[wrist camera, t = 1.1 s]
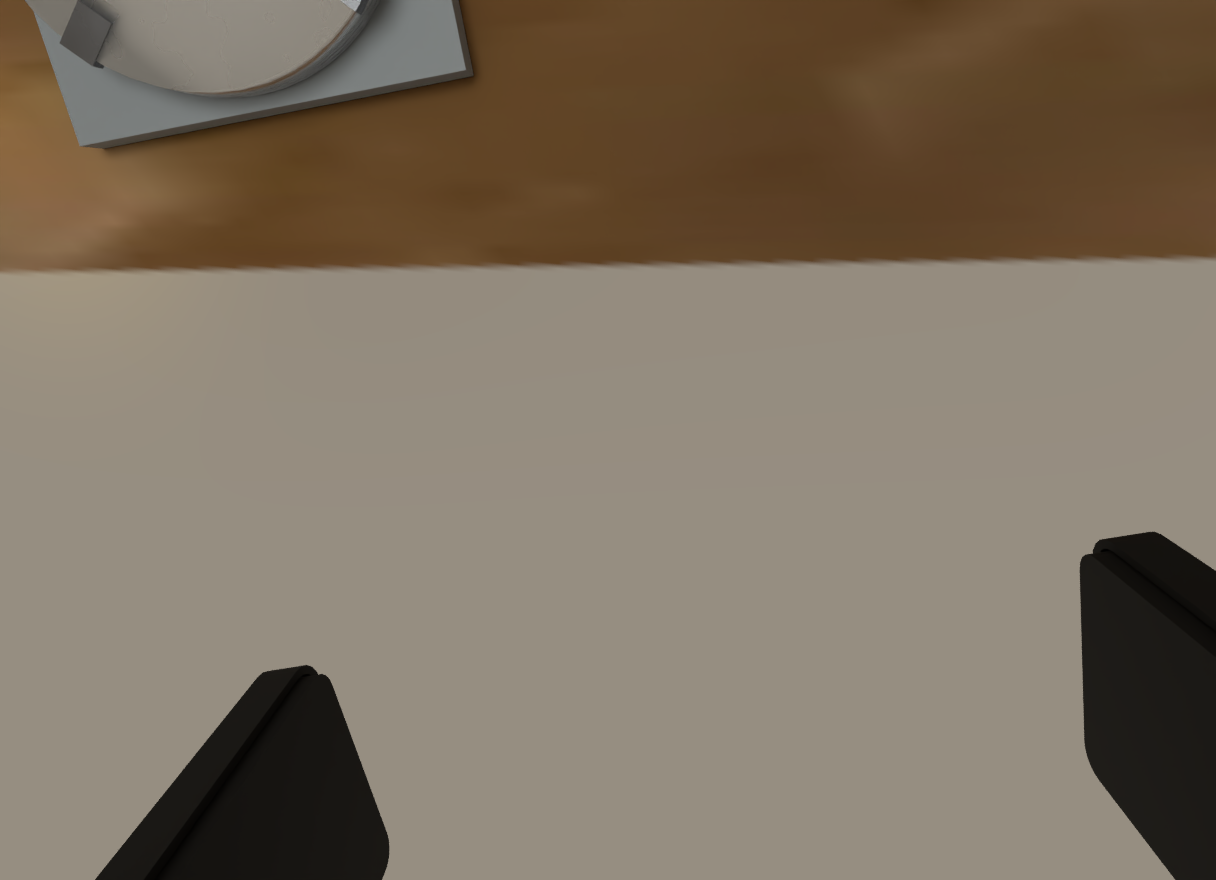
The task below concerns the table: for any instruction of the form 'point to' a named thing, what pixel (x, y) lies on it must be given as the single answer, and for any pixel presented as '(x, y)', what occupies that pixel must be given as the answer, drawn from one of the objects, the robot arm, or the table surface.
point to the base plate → (371, 65)
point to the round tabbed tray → (208, 40)
